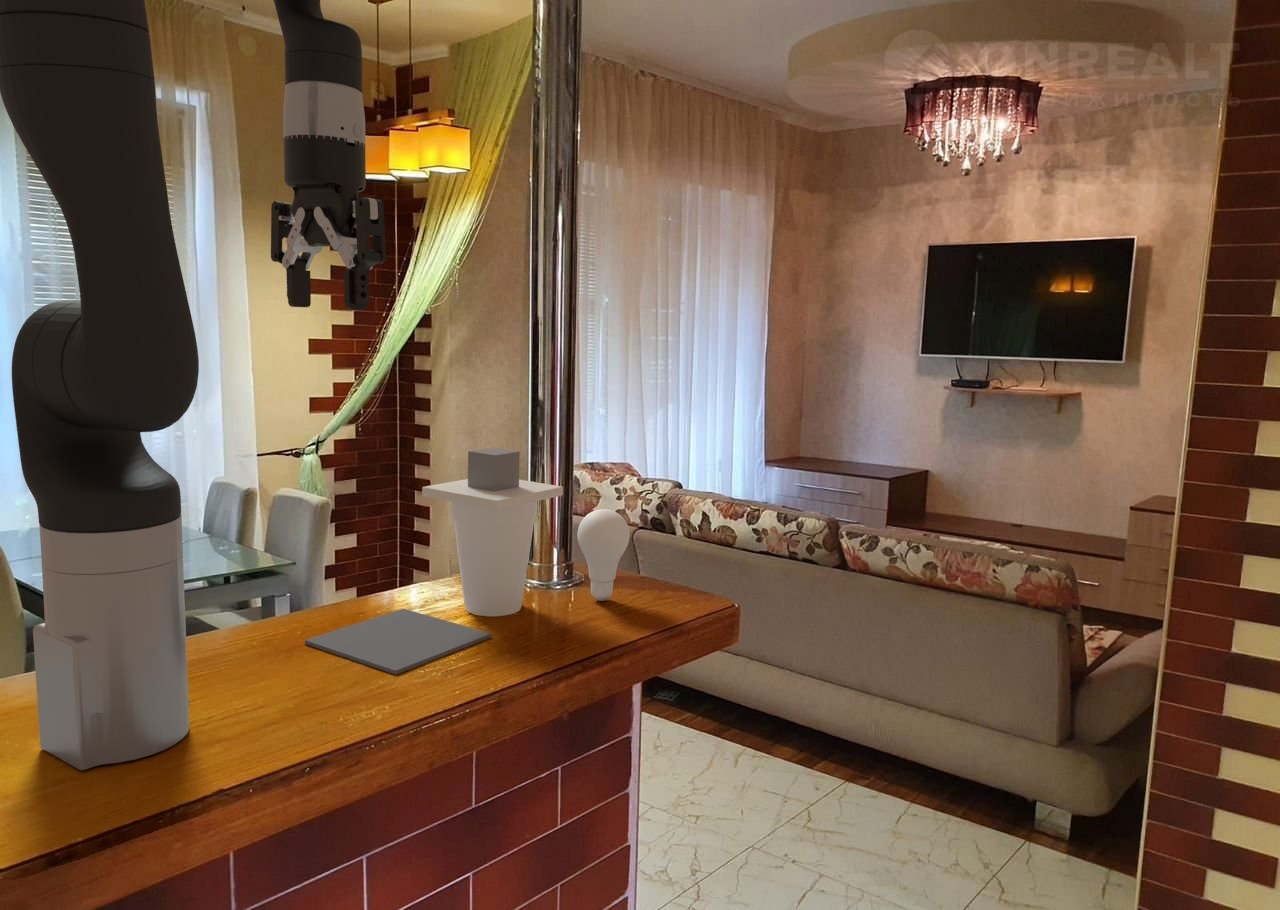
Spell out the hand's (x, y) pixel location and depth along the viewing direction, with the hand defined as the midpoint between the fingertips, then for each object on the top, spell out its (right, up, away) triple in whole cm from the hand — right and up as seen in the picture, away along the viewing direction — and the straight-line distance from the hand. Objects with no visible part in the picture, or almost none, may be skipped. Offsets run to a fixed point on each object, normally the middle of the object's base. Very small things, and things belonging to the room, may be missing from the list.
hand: (327, 308), depth 93 cm
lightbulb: (+26, -32, +18) cm, 45 cm away
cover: (+15, -19, +12) cm, 27 cm away
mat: (+7, -33, +2) cm, 34 cm away
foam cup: (+14, -32, +14) cm, 38 cm away
